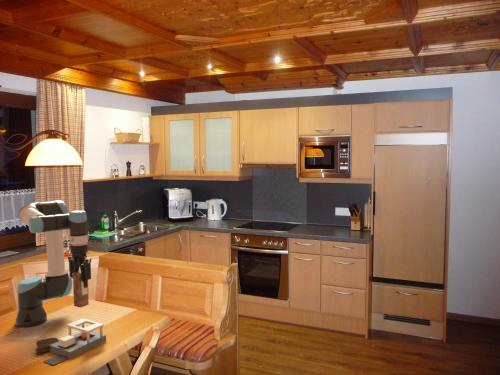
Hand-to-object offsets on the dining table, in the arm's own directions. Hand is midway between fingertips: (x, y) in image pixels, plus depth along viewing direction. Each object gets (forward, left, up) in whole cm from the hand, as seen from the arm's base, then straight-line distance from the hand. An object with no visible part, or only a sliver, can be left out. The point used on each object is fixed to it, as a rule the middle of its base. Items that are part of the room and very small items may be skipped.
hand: (80, 293), depth 194 cm
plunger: (0, +2, -23) cm, 23 cm away
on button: (0, -8, -21) cm, 23 cm away
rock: (-12, -10, -25) cm, 30 cm away
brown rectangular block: (0, 0, -6) cm, 6 cm away
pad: (+3, -16, -25) cm, 30 cm away
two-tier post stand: (0, -2, -25) cm, 25 cm away
